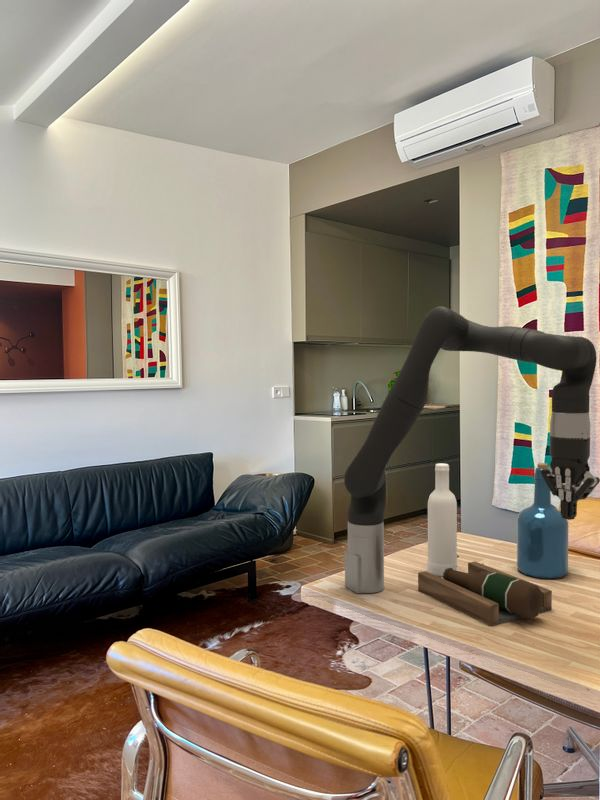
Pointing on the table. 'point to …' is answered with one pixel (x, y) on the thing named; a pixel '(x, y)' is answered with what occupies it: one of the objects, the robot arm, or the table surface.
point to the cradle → (472, 596)
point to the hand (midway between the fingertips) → (568, 518)
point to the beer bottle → (501, 591)
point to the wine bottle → (542, 534)
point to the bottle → (442, 524)
